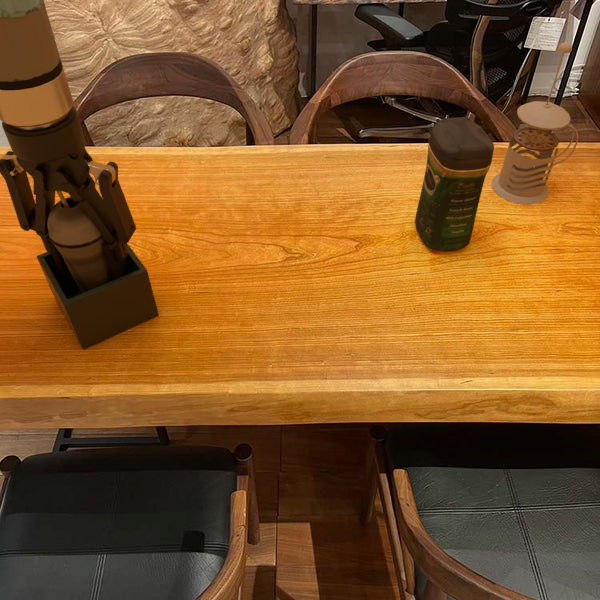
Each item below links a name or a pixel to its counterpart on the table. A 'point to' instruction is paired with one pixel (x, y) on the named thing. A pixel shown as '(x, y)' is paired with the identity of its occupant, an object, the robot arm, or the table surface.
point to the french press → (520, 169)
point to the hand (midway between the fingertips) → (94, 273)
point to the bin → (102, 301)
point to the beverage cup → (78, 244)
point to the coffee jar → (453, 183)
